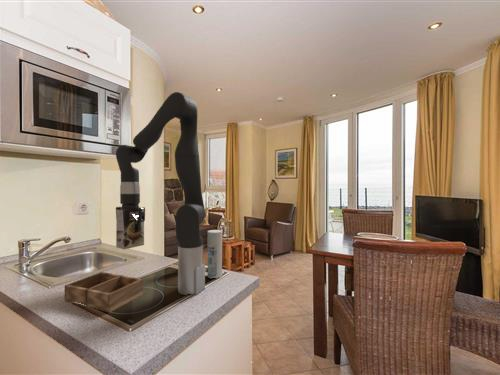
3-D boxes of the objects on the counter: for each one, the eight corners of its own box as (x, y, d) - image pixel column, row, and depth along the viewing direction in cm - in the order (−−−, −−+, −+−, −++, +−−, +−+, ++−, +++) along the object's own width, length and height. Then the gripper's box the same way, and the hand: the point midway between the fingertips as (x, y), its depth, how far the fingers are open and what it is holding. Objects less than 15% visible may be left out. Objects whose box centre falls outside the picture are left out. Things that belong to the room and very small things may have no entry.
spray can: (204, 276, 107) (204, 231, 107) (215, 272, 112) (215, 229, 112) (214, 280, 103) (214, 233, 103) (225, 275, 108) (225, 231, 108)
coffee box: (124, 249, 98) (124, 209, 98) (115, 247, 101) (115, 209, 101) (144, 245, 106) (144, 208, 105) (136, 243, 109) (135, 207, 109)
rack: (143, 293, 90) (143, 279, 90) (109, 312, 77) (109, 295, 77) (101, 285, 97) (101, 271, 97) (64, 301, 84) (64, 285, 84)
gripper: (150, 192, 104) (150, 230, 104) (124, 192, 109) (124, 229, 109) (136, 193, 97) (136, 234, 97) (109, 192, 102) (110, 232, 102)
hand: (130, 231), depth 103 cm, fingers closed on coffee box, 7 cm apart
